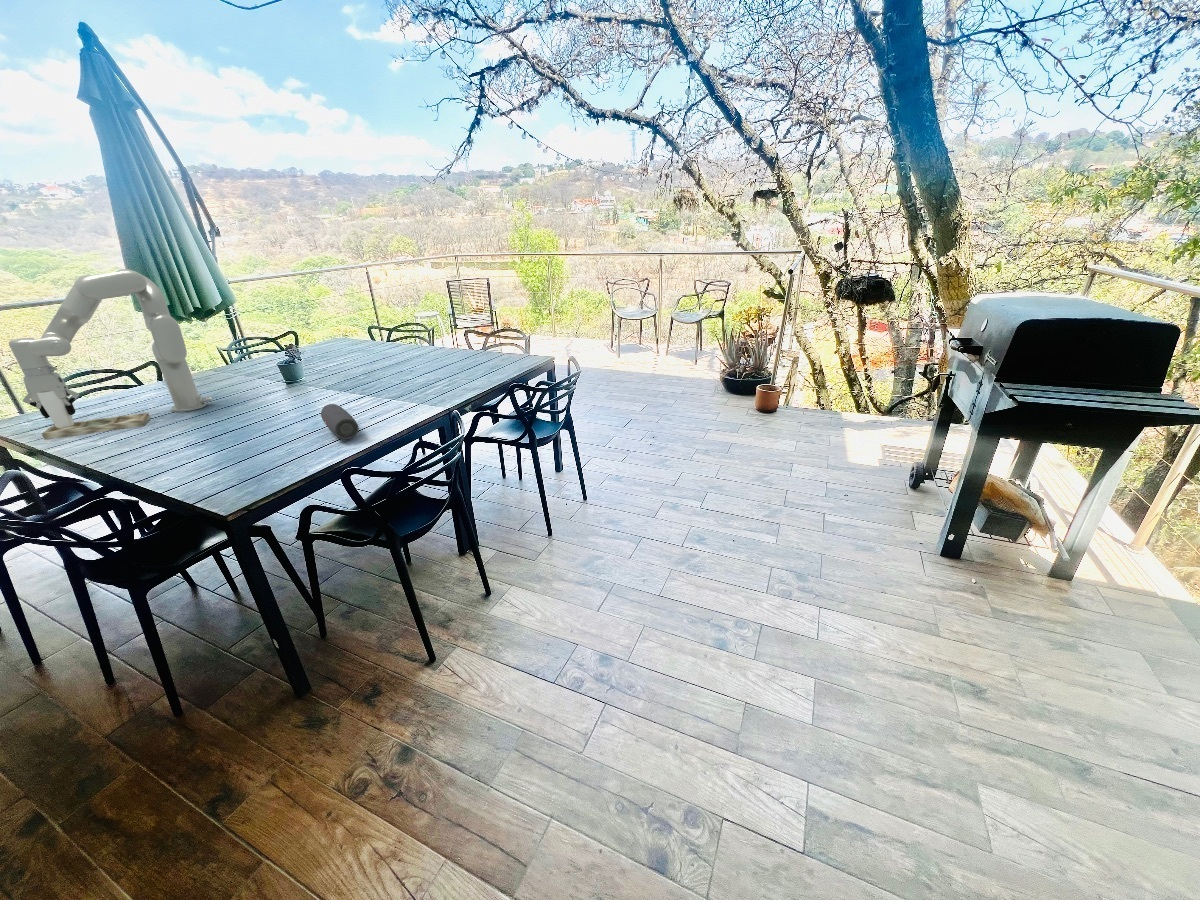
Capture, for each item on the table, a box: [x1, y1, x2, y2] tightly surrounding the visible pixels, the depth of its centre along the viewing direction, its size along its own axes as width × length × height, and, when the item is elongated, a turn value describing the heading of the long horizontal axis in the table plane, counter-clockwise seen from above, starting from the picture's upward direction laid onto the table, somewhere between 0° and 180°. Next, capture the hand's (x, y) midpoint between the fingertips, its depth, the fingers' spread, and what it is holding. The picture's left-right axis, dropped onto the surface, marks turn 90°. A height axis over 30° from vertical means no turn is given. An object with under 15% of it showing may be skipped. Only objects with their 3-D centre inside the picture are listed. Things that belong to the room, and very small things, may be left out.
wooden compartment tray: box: [41, 412, 151, 440], centre depth 195 cm, size 30×11×2 cm, turn 119°
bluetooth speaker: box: [320, 403, 360, 440], centre depth 188 cm, size 23×9×10 cm, turn 40°
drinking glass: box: [37, 391, 75, 428], centre depth 188 cm, size 7×7×15 cm
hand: (60, 415), depth 189 cm, fingers closed on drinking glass, 6 cm apart
